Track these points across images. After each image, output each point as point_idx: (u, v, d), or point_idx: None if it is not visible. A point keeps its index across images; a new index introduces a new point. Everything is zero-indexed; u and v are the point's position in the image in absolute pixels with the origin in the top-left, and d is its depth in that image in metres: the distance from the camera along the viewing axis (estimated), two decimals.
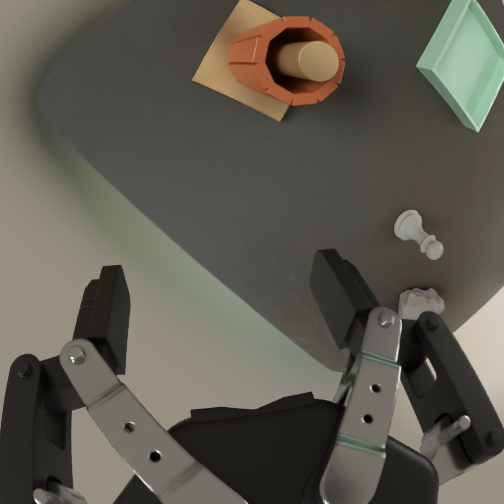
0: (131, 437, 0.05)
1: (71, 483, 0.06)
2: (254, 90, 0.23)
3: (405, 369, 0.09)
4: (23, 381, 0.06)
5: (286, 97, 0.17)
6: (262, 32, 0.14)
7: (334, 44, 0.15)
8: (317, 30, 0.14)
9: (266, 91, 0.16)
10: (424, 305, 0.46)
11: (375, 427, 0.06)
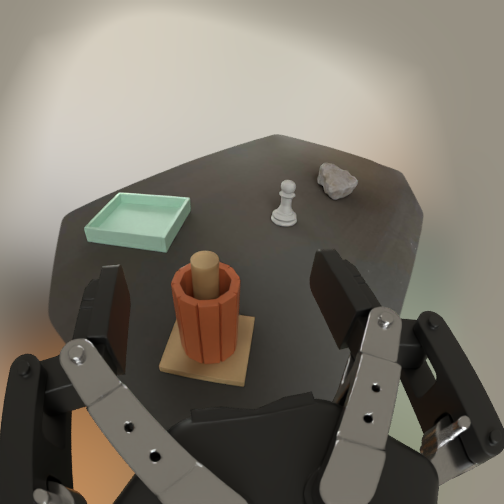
0: (131, 437, 0.05)
1: (71, 483, 0.06)
2: (237, 335, 0.32)
3: (405, 369, 0.09)
4: (23, 381, 0.06)
5: (235, 282, 0.27)
6: (194, 305, 0.24)
7: (185, 268, 0.28)
8: (179, 278, 0.27)
9: (236, 294, 0.26)
10: (331, 177, 0.63)
11: (375, 427, 0.06)
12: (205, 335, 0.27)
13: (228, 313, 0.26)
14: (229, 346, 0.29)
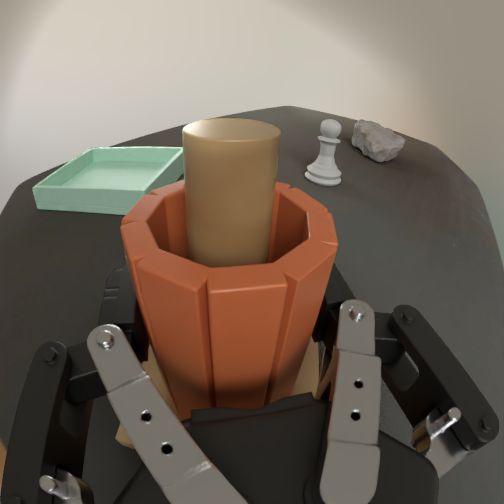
0: (146, 427, 0.05)
1: (80, 472, 0.06)
2: None
3: (384, 365, 0.10)
4: (47, 368, 0.07)
5: (322, 218, 0.09)
6: (190, 285, 0.06)
7: (169, 189, 0.10)
8: (149, 210, 0.08)
9: None
10: (372, 133, 0.45)
11: (375, 427, 0.06)
12: (228, 384, 0.08)
13: (305, 315, 0.08)
14: (283, 396, 0.11)
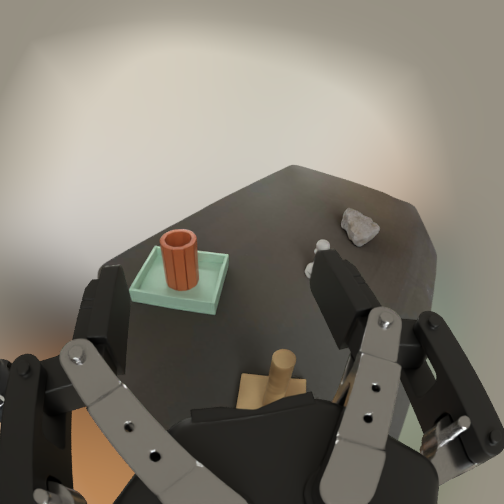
0: (131, 437, 0.05)
1: (71, 483, 0.06)
2: (198, 275, 0.54)
3: (405, 369, 0.09)
4: (23, 381, 0.06)
5: (193, 239, 0.49)
6: (170, 249, 0.47)
7: (168, 233, 0.50)
8: (164, 237, 0.49)
9: (193, 244, 0.48)
10: (356, 225, 0.67)
11: (375, 427, 0.06)
12: (177, 268, 0.49)
13: (189, 255, 0.49)
14: (192, 279, 0.52)
